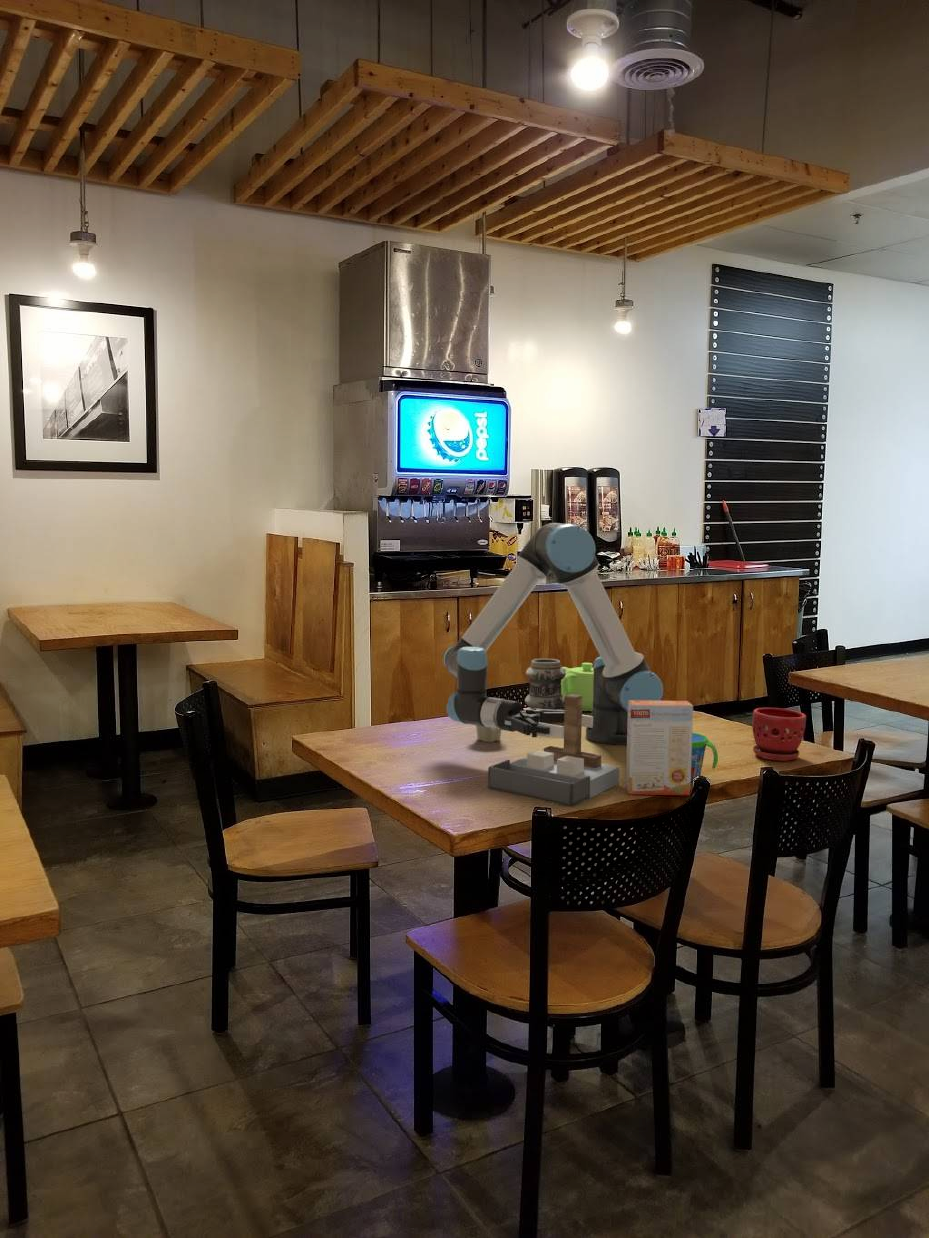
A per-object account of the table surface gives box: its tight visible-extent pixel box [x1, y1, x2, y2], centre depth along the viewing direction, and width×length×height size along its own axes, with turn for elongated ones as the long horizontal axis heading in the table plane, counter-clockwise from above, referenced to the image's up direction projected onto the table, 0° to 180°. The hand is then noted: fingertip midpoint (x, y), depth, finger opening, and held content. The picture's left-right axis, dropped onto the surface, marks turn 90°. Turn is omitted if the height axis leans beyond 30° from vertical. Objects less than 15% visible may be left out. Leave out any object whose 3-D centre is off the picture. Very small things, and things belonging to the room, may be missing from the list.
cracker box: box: [625, 700, 694, 796], centre depth 227 cm, size 14×6×21 cm, turn 88°
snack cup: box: [691, 732, 719, 782], centre depth 239 cm, size 16×10×10 cm
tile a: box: [526, 750, 554, 770], centre depth 234 cm, size 4×4×3 cm
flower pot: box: [475, 725, 502, 743], centre depth 275 cm, size 9×9×9 cm
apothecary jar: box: [524, 658, 566, 722], centre depth 300 cm, size 12×12×18 cm
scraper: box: [543, 694, 602, 768], centre depth 237 cm, size 3×14×16 cm, turn 54°
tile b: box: [557, 756, 584, 776], centre depth 229 cm, size 4×4×3 cm
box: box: [487, 759, 590, 807], centre depth 226 cm, size 8×22×5 cm, turn 54°
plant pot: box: [751, 707, 807, 762], centre depth 260 cm, size 13×13×12 cm
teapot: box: [561, 662, 594, 712], centre depth 318 cm, size 19×20×14 cm
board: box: [510, 756, 620, 799], centre depth 235 cm, size 14×22×4 cm, turn 54°
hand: (578, 727), depth 236 cm, fingers open, 13 cm apart
